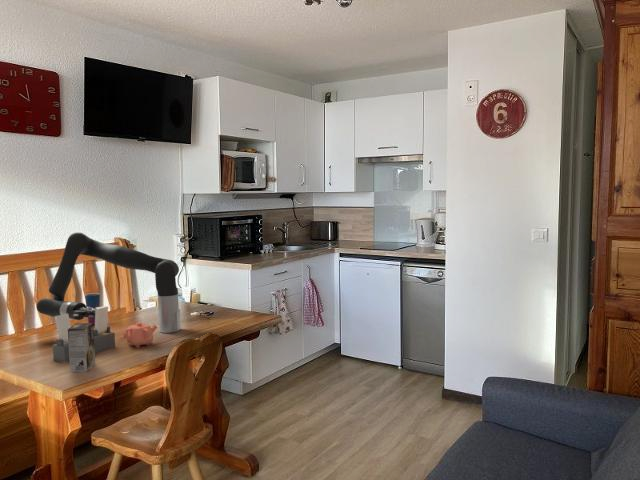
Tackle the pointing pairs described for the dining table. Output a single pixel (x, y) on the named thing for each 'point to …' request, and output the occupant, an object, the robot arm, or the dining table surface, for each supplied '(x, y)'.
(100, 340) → the grey block structure
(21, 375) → the dining table surface
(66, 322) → the rocker
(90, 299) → the cup
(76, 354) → the coffee box
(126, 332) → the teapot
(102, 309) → the rocker
